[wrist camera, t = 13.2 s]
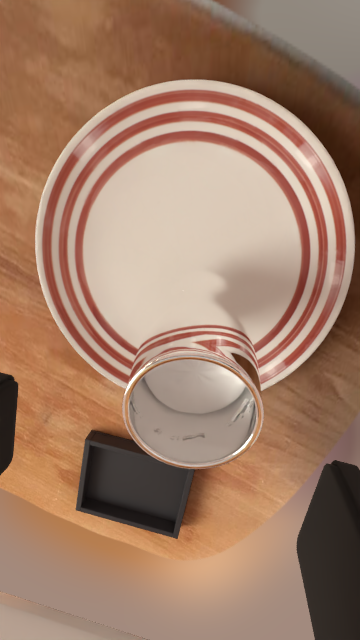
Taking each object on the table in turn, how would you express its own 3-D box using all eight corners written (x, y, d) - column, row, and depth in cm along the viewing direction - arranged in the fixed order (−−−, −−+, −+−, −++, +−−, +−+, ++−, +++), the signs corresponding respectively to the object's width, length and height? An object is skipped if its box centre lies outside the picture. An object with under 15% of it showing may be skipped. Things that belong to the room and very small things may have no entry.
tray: (196, 457, 37) (195, 468, 35) (179, 525, 40) (177, 539, 38) (91, 429, 38) (85, 439, 36) (81, 498, 41) (75, 510, 39)
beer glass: (253, 276, 28) (292, 372, 14) (228, 348, 31) (241, 487, 17) (171, 255, 28) (131, 331, 14) (154, 329, 31) (107, 453, 17)
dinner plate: (379, 344, 31) (396, 357, 28) (121, 423, 37) (111, 441, 34) (286, 29, 26) (294, 1, 23) (4, 179, 32) (-21, 173, 29)
